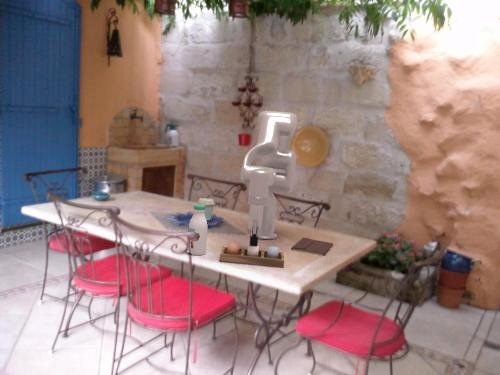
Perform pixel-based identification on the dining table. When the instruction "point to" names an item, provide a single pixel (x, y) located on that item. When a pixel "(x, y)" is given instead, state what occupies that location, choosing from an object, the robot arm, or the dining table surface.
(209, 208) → the coffee cup
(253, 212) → the robot arm
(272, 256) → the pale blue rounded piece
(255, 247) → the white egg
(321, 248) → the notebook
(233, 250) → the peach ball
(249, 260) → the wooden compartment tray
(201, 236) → the milk bottle
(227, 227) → the dining table surface
